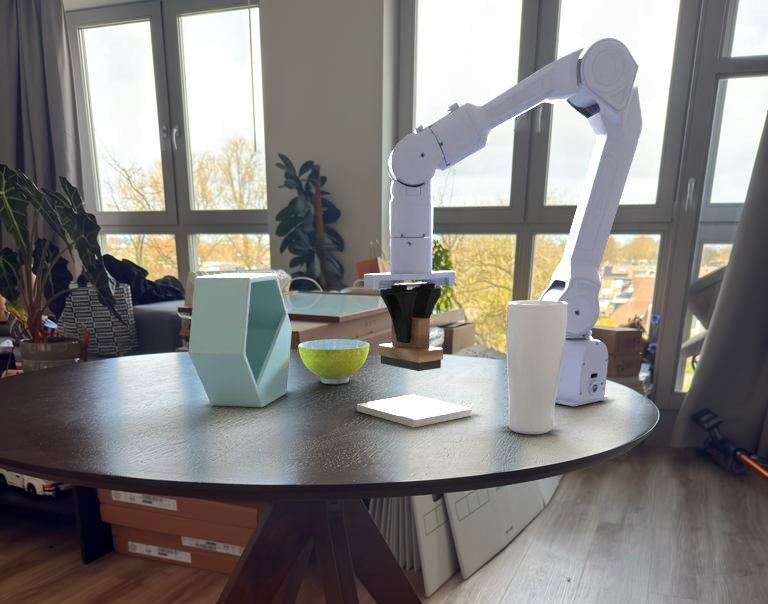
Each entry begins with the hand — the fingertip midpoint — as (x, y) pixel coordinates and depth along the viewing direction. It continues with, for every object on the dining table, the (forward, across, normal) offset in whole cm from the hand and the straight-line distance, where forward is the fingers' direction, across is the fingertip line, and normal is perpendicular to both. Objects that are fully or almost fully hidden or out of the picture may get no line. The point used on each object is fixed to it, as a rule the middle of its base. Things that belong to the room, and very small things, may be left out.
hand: (410, 341), depth 101 cm
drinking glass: (+9, 0, +23) cm, 24 cm away
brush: (+3, 0, 0) cm, 3 cm away
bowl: (+9, 0, -19) cm, 21 cm away
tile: (+8, +5, +7) cm, 12 cm away
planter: (+9, +18, -15) cm, 25 cm away
